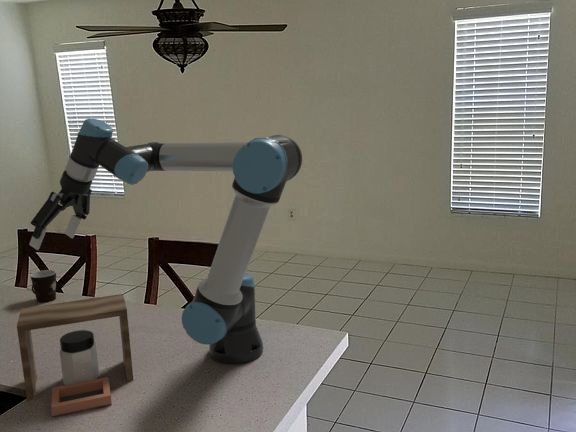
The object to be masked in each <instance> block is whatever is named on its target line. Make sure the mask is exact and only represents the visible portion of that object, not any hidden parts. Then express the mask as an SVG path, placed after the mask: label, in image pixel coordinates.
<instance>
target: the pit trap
mask: <svg viewBox="0 0 576 432" xmlns="http://www.w3.org/2000/svg"><path fill="white" fill-rule="evenodd" d="M109 379H110V378H109V376H108V377H101V378H97V379H95V380H90V381H85V382H80V383H74V384H69V385H65V384H64V385H60V386H53V387H52V390H51V391H52V393H51V394H52V395H51V404H50V405H51V407H50V408H51V415H52V416H51V417H52V418H56V417H60V416H65V415H71V414H75V413H76V414H77V413H79V412H83V411H84V412H85V411H89V410H95V409H99V408H103V407H104V408H105V407H108V406H112V396H111V386H110V380H109Z"/></svg>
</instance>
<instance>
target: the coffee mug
mask: <svg viewBox="0 0 576 432" xmlns="http://www.w3.org/2000/svg"><path fill="white" fill-rule="evenodd" d="M29 276H30V280H31V283H32V285H31V291H32V293H33V294H34V295H35V298H36V303H42V304H46V303H51V302H53V301H55V300H56V299H57V292H56V291H57V271H56V270H53V269H45V270H39V271H35V272H33V273H31V274H30V275H29ZM45 302H46V303H45Z"/></svg>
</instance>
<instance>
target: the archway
mask: <svg viewBox="0 0 576 432" xmlns="http://www.w3.org/2000/svg"><path fill="white" fill-rule="evenodd" d="M127 309H128V308H127V304H126V300H125V297H124V293H119V294H113V295H108V296H100V297H92V298H85V299H79V300H71V301H64V302H59V303H58V302H57V303H51V304H44V305H38V306H37V305H36V306H29V307H24V308H20V313H19V316H18V320H17V324H16V331H17V338H18V346H19V352H20V359H21V367H22V375H23V380H24V387H25V389H24V390H25V395H26V401H27V402H30V401H34V400H35V396H36V395H35V394H36V388H37V382H38V381H37V380H38V375H37V374H38V373H37V368H36V367H37V366H36V360H35V352H34V351H35V350H34V345H33V343H34V342H33V338H32V337H33V336H32V331H33V330H40V329H46V328H51V327H52V328H53V327H59V326H64V325H72V324H78V323H84V322H90V321H97V320H103V319H110V318H116V317H118V318H119V326H120V327H119V329H120V336H121V347H122V350H121V351H122V359H123V365H124V371H125V374H126V380H127V382H131V381H134V370H133V361H132V351H131V338H130V328H129V317H128V316H129V315H128V310H127Z"/></svg>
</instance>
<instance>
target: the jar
mask: <svg viewBox="0 0 576 432" xmlns="http://www.w3.org/2000/svg"><path fill="white" fill-rule="evenodd" d="M94 335H95V334H94V333H93V331H90V330H86V329H82V330H74V331H70V332H67V333H66V334H64V335H62V336H61V337H60V338H59V344H60V349H59V358H60V365H61V375H62V382H63V384H64V385H69V384H74V383H80V382H85V381H90V380H95V379H98V377H99V375H100V367H99V358H98V351H97V350H98V349H97V342H96V341H95V336H94Z"/></svg>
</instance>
